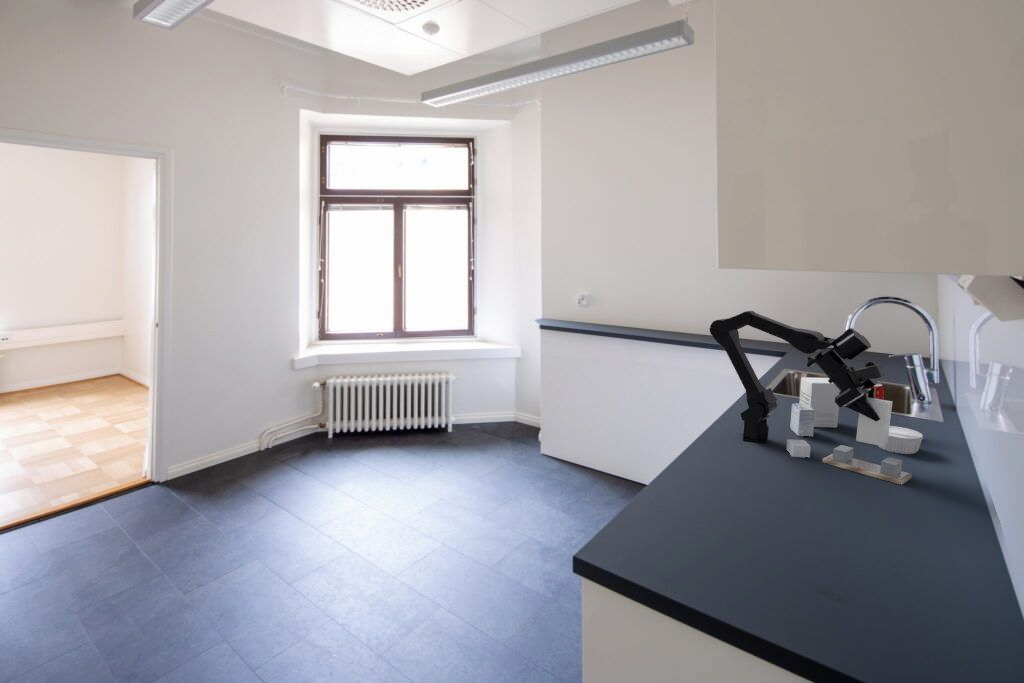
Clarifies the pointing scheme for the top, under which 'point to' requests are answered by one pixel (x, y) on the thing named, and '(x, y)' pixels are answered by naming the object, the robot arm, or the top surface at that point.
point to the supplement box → (820, 400)
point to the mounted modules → (887, 465)
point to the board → (868, 472)
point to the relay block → (798, 448)
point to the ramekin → (902, 440)
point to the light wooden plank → (868, 467)
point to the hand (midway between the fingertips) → (880, 418)
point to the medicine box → (802, 419)
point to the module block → (875, 423)
